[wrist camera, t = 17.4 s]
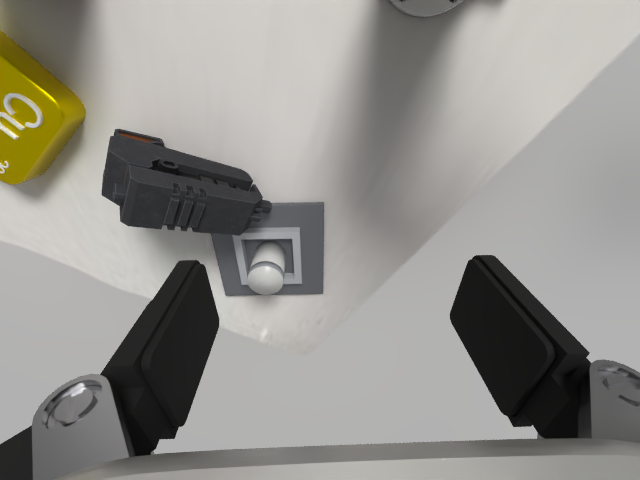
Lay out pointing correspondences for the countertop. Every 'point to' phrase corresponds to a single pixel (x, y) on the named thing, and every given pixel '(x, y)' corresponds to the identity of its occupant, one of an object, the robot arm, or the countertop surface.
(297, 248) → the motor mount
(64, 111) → the element tile
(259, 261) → the white domed cylinder
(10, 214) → the countertop surface
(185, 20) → the countertop surface
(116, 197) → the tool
